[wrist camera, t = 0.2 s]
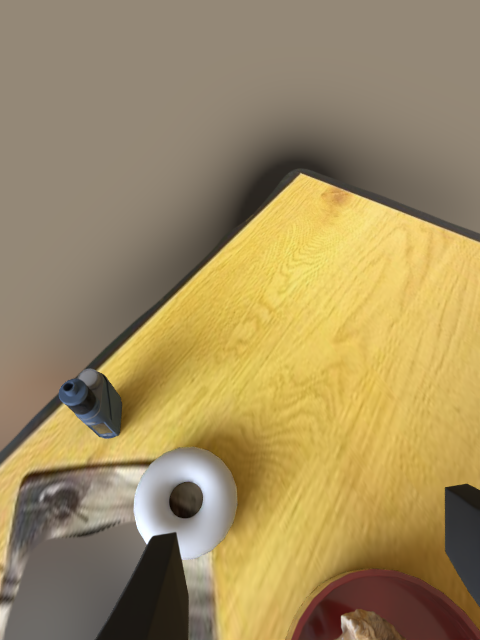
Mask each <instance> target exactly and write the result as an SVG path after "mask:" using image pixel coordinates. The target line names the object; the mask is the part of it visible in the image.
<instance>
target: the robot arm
mask: <svg viewBox="0 0 480 640" xmlns="http://www.w3.org/2000/svg"><path fill="white" fill-rule="evenodd" d="M445 552H446V554H447V555H448V557H449V559H450V561H451V562H452V564H453V566H454V568H455V569H456V571H457V573H458V575H459V576H460V578H461V580H462V581H463V583H464V585H465V586H466V588H467V590H468V591H469V593H470V594H471V596H472V597H473V599H474V600H475V601H476V603H477V604H478V606H479V607H480V490H478V489H477V488H475V487H473V486H471V485H469V484H463V485H456V486H450V487H445ZM188 615H189V596H188V590H187V585H186V580H185V575H184V570H183V564H182V559H181V554H180V549H179V543H178V538H177V533H176V532H173V533H167V534H161V535H155V536H152V537H151V539H150V540H149V542H148V544H147V546H146V548H145V550H144V552H143V554H142V556H141V558H140V560H139V562H138V564H137V566H136V568H135V570H134V572H133V574H132V576H131V578H130V580H129V582H128V583H127V585H126V587H125V589H124V591H123V592H122V594H121V596H120V598H119V600H118V601H117V603H116V605H115V607H114V608H113V610H112V612H111V614H110V616H109V617H108V619H107V621H106V622H105V624H104V626H103V627H102V629H101V630H100V632H99V634H98V635H97V637H96V639H95V640H188Z"/></svg>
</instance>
